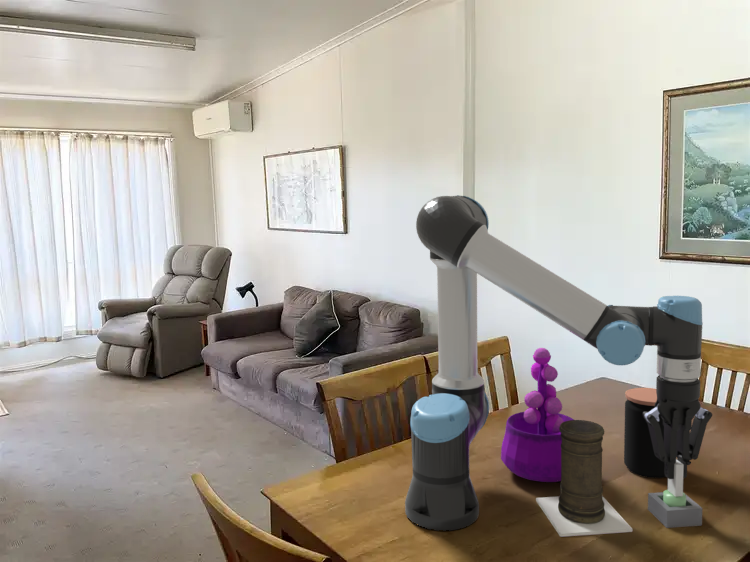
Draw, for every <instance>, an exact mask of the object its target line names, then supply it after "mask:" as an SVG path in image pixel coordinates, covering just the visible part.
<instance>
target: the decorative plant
mask: <svg viewBox="0 0 750 562" xmlns="http://www.w3.org/2000/svg"><path fill="white" fill-rule="evenodd" d="M532 357H533V361H534V363H533V364H532V365H531V367H530V374H531V376H532V379H534V380H535V381H536V382H537V390H532V391H530V392H527V393H526V394H525V396H524V401H523V402H524V404H525V405H526V407H528V408H527V409H526V410H525V411H521V412H517V413H515V414H512V415H510V416H509V417H507V420H506V424H505V431H504V436H503V439H502V443H501V452H500V460H501V461H502V463H503V464H504V465H505V467H507V469H508V470H509V471H510V473H513V474H515V475H516V476H517V477H521V478H523V479H527V480H530V481H536V482H542V483H543V482H544V483H545V482H546V483H556V482H561V443H562V438H561V432H560V430H559V427H560V425H561V423H563V422H565V421H569V420H575V419H574V418H573V417H570V416H568V415H565V414H563V413H560V412H561V411H562V410H563V404H562V402H561V400H560V399H559V398H558V397H557V389H556V387H555V386H554V385H553V384H551V383H552V382H554V381H555V380H556V379H557V378H558V375H559V373H558V370H557V369H556V368H555V367H554V366H552V365H550V364H549V363H550V361H551V357H552V355H551V352H550V350H548V349H547V348H545V347H539V348H537V349H535V351H534V353H533V355H532ZM548 382H550V383H548Z"/></svg>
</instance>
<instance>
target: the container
mask: <svg viewBox="0 0 750 562" xmlns="http://www.w3.org/2000/svg"><path fill="white" fill-rule="evenodd" d="M559 430H560V432H561V438H562V443H561V481H560V484H559V486H560V487H559V488H560V494H559V504H558V509H559V512H560V514H561V515H562V516H563V517H565V518H567V519H569V520H571V521H574V522H577V523H584V524H594V523H598V522H600V521H602V520H603V518H604V516H605V509H604V502H603V500H602V496H603V492H604V490H603V480H602V479H603V471H602V470H603V450H604V449H603V443H602V442H603V440H604V437H603V436H605V429H604V427H603V426H602V425H601V424H599V423H597V422H594V421H589V420H584V419H574V420H569V421H565V422H563V423H561V425H560V427H559Z"/></svg>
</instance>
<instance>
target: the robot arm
mask: <svg viewBox="0 0 750 562" xmlns="http://www.w3.org/2000/svg"><path fill="white" fill-rule="evenodd" d="M489 223H490V222H489V216H488V213H487V212H486V210H485V208H484V206H483V205H482V204H481V203H480V202H478V201H477V200H475V199H474V198H472V197H469V196H466V195H442V196H441V195H440V196H436V197H434V198H431V199H429V200H428V201H427V202H426V203H425V204H424V205H422V207H421V208H420V210H419V211H418V214H417V217H416V222H415V227H416V228H415V229H416V233H417V235H418V239H419V240H420V243H421V244H422V245H423V246H424V247H425V248H426V249H428V250H429V259H430V261H432V263H433V264H434V265H435V266H436V268H437V269H436V273H437V274H436V276H437V283H436V284H437V285H436V286H437V287H436V288H437V346H438V347H437V348H438V349H437V350H438V352H437V353H438V355H437V356H438V372H437V373H436V375H435V376H434V377H433V378H432V380H431V393H432V394H429V396H423V397H421V398H419V399H417V400H416V401H415V403H414V404H413V405H412V408H411V412H410V413H411V414H410V423H409V424H410V432H411V434H410V435H411V436H410V437H411V438H410V439H411V460H412V461H411V462H412V465H411V466H412V477H411V480H410V483H409V487H408V490H407V493H406V497H405V501H404V507H405V508H404V509H405V510H404V511H405V515H407V516H406V517H407V519H408V518H409V519H410V520H411V521H412V522H411V521H410V520H409V521H410V522H411V523H413V522H414V523H416V524H418V525H419V526H418V525H417V526H418V527H420V526H422V527H421V528H423V527H425V528H424V529H426V528H427V529H426V530H431V529H434V530H433V531H439V530H443V531H444V532H445V531H446V530H449V531H456V530H460V528H461V529H464V528H466V526H467V527H468V526H471V525H472V524H473V523H475V522H476V521H477V520H478V518H479V515H480V504H479V500H478V497H477V496H478V495H477V493H476V491H475V487H474V485H473V482H472V479H471V473H470V446H471V443H472V442H473V440H474V439H475V438H476V436H477V435H478V433H479V432H480V431H481V429H483V427H484V426H485V424H486V422H487V419H488V418H489V411H490V402H489V398H488V396H487V393H486V391H485V379H484V378H483V377H482V376H481V375H480V374H479V372H478V275H479V276H480V277H483V278H484V279H485V280H487V281H488V282H491V283H492V284H494V285H495V286H497V287H498V288H500V289H501V290H503V291H505V292H507V293H508V294H509V295H511V296H512V297H514V298H516V299H517V300H519V301H520V302H522V303H524V304H525V305H527V306H529V307H530V308H532V309H533V310H534V311H537V312H538V313H539V314H541V315H543V316H545V318H548V319H549V320H551V321H552V322H554V323H555V324H557V325H559V326H561V327H562V328H564V329H565V330H567V331H569V332H570V333H572V334H573V335H574V336H577V337H578V338H580V339H581V340H583V341H585V342H586V343H587V344H588V345H590V346H592V347H593V348H595V349H596V350H597V351H598V353H599V354H600V356H601V357H602V358H603V360H605V361H606V362H608V363H609V364H612V365H614V366H628V365H631V364H633V363H635V362H636V361H637V360H638V359H639V358H641V356H642V354H643V352H644V348H645V346H649V347H650V346H651V347H652V346H657V347H656V348H657V351H656V374H657V376H656V381H655V382H656V384H655V386H656V387H655V389H656V394H657V401H656V403H655V405H654V407H655V408H654V409H652V410H651V411H649V412H647V411H645V412H643V417H644V418H645V420H646V421H647V423H648V427H649V432H650V436H651V441H652V445H653V449H654V454H655V456H656V457H657V458H659V459H660V460H661V461H663V462H665V468H664V474H665V476H666V477H665V478H667V490H668V491H669V492H670V493H672V494H673V495H674V496H675V497H679V496H683V493H684V479H686V478H687V476H688V466H690V465H691V464H692V460H697V459H698V458H699V455H700V451H701V447H702V444H703V441H704V440H703V439H704V436H705V432H706V429H707V425H708V423H709V422H710V420H711V419H712V417H713V413H712V412H711V411H709V410H708V409H706V408H704V407H701V405H702V404H701V403H700V397H701V380H700V379H699V378H700V377H701V367H702V366H701V362H702V361H701V359H702V341H703V323H704V322H703V305H702V302H701V301H700V300H699V299H698V298H696V297H693V296H687V295H665V296H662V297H659V299H658V300H657V304H656V306H636V305H632V306H631V305H613V304H609V305H607V304H605V303H603V302H602V301H600V300H599V299H597V298H596V297H594V296H592V295H591V294H589V293H587V292H586V291H584V290H582V289H580V288H579V287H578V286H575V284H573V283H571V282H569V281H567V279H564V278H563V277H561V276H559V275H558V274H556V273H554V272H553V271H551V270H550V269H547V268H546V267H545V266H543V265H542V264H539V263H538V262H536V261H534V260H533V259H531V258H530V257H528V256H526V255H525V254H523V253H522V252H520V251H518V250H516V249H515V248H513V246H512V247H511V246H509V245H508V244H507V243H505V242H503V241H502V240H500V239H499V238H497V237H495V236H493V235H492V234H490V233H489V232H488V230H489ZM658 415H660V416H661V418H662V419H663V425H664V442H663V437H662V433H661V428H660V425H659V423H658V421H659V417H658ZM414 523H413V524H414ZM416 524H415V525H416Z"/></svg>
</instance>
